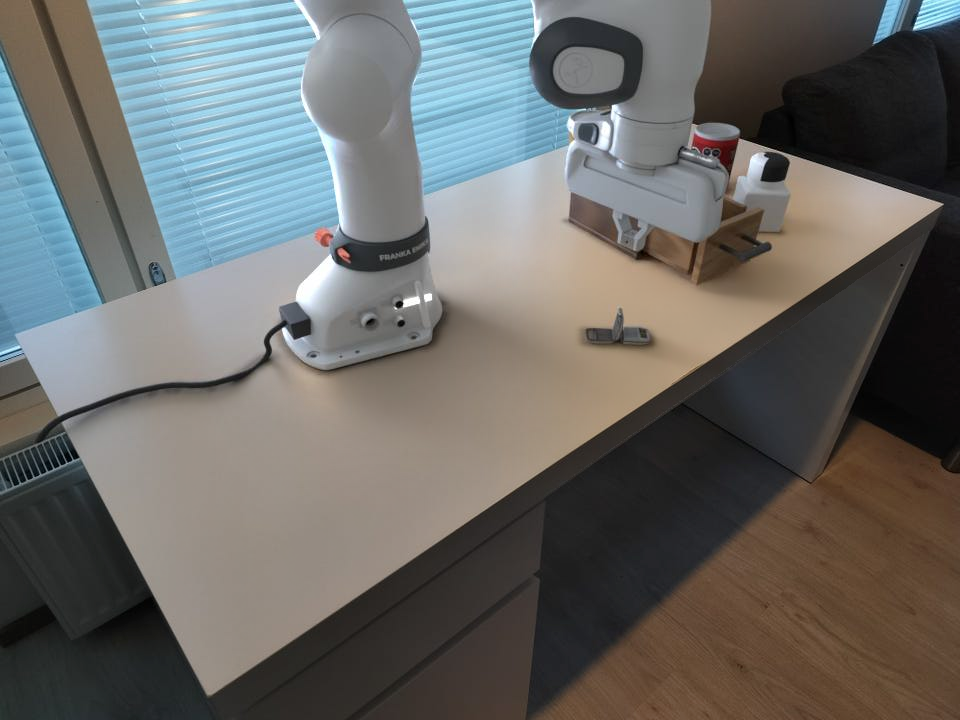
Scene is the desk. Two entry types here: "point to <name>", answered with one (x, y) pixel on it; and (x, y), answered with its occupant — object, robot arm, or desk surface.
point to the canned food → (717, 142)
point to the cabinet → (600, 222)
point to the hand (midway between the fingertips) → (630, 246)
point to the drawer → (712, 244)
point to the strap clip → (619, 333)
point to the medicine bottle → (765, 189)
